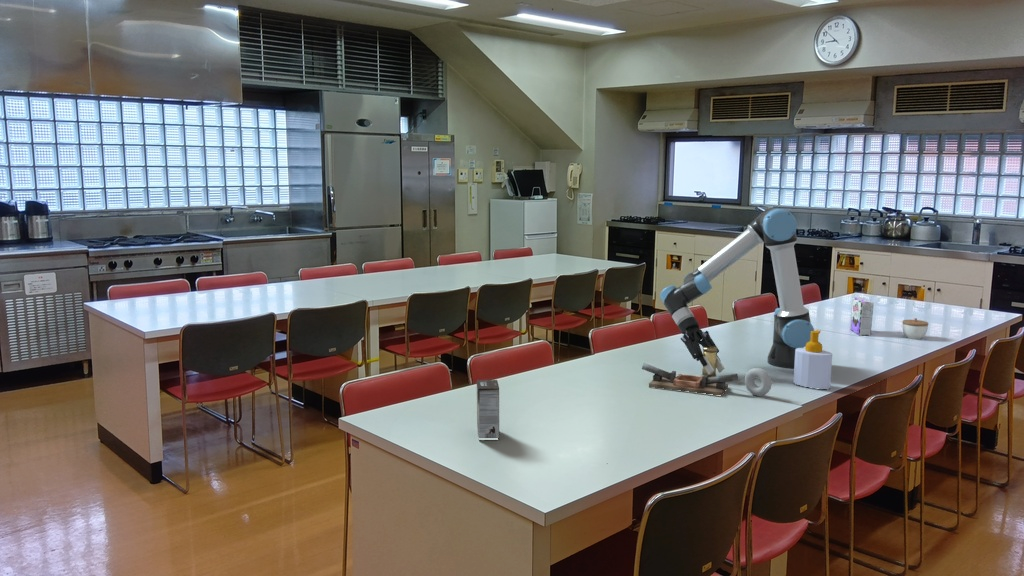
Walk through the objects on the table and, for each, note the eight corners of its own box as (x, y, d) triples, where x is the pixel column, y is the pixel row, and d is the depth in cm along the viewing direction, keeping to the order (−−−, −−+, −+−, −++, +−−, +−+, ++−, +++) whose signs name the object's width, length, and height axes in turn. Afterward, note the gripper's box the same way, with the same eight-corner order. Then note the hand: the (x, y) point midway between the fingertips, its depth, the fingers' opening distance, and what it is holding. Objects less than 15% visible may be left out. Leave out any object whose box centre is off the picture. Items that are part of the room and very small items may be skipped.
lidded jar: (931, 340, 347) (933, 320, 345) (908, 340, 347) (909, 320, 345) (919, 335, 357) (921, 316, 356) (897, 335, 357) (898, 316, 356)
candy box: (849, 329, 370) (852, 296, 368) (862, 330, 369) (864, 297, 367) (858, 335, 357) (860, 301, 354) (871, 336, 356) (874, 302, 353)
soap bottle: (834, 387, 273) (837, 332, 270) (825, 392, 267) (829, 336, 264) (798, 380, 282) (801, 327, 278) (789, 384, 276) (792, 331, 273)
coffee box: (476, 430, 228) (476, 379, 225) (497, 430, 229) (497, 379, 226) (477, 441, 219) (477, 388, 217) (499, 440, 220) (499, 387, 217)
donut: (772, 397, 260) (774, 370, 259) (767, 399, 258) (769, 371, 256) (747, 391, 268) (748, 364, 266) (741, 393, 265) (743, 366, 264)
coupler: (717, 377, 286) (718, 346, 284) (714, 380, 281) (715, 349, 279) (703, 375, 288) (704, 345, 286) (700, 379, 284) (701, 348, 282)
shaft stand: (740, 389, 270) (741, 369, 269) (734, 398, 259) (735, 378, 258) (646, 377, 285) (647, 359, 284) (637, 385, 275) (637, 366, 274)
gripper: (696, 324, 300) (727, 373, 289) (664, 329, 290) (694, 380, 279) (707, 313, 294) (738, 362, 283) (674, 318, 285) (706, 369, 274)
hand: (716, 371), depth 281 cm, fingers closed on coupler, 5 cm apart
